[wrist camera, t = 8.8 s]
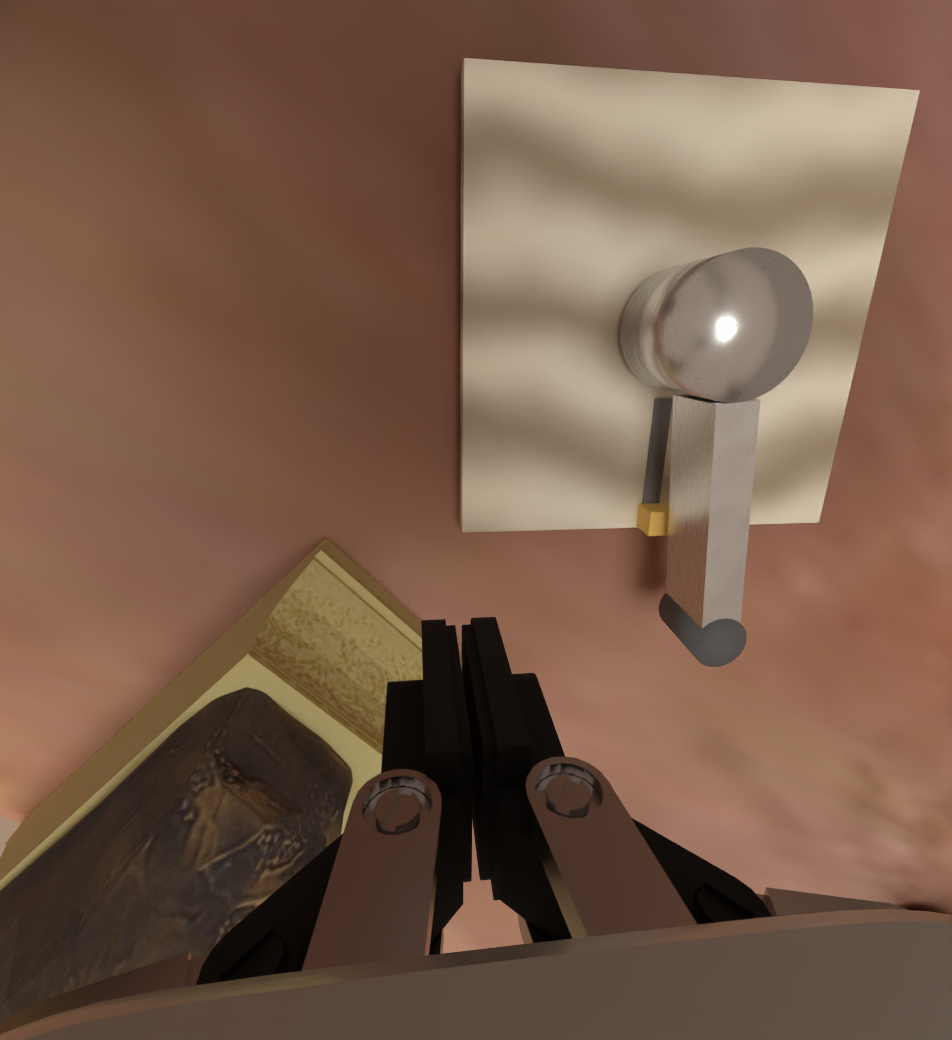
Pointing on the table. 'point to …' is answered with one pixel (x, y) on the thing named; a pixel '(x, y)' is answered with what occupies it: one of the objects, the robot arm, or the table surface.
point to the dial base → (650, 274)
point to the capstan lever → (714, 419)
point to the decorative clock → (208, 788)
